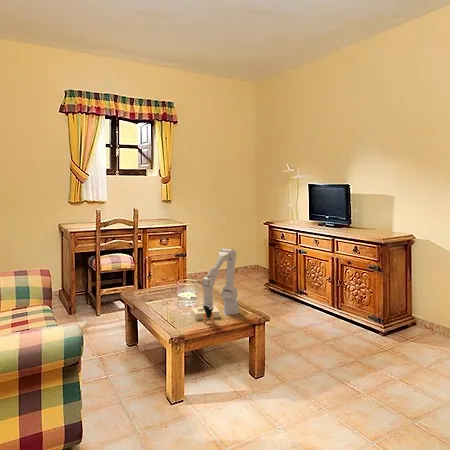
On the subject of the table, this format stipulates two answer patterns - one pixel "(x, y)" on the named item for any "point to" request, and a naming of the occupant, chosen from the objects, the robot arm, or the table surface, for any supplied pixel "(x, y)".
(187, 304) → the table surface
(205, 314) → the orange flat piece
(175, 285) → the table surface
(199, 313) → the cream frame with crossbar
